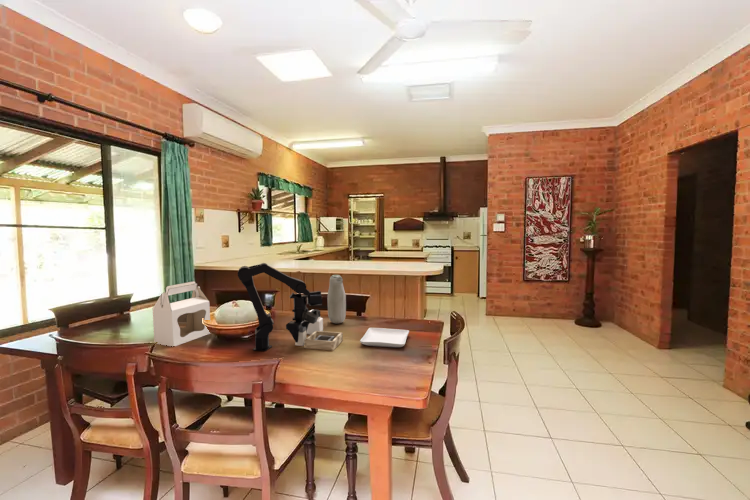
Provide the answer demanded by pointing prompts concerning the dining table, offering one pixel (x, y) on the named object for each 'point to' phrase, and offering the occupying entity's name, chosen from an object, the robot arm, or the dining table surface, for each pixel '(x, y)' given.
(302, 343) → the grey rectangular prism
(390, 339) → the salad plate
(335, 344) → the socket box
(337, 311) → the tall grey vase
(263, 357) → the dining table surface
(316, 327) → the medicine bottle
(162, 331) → the gable box
